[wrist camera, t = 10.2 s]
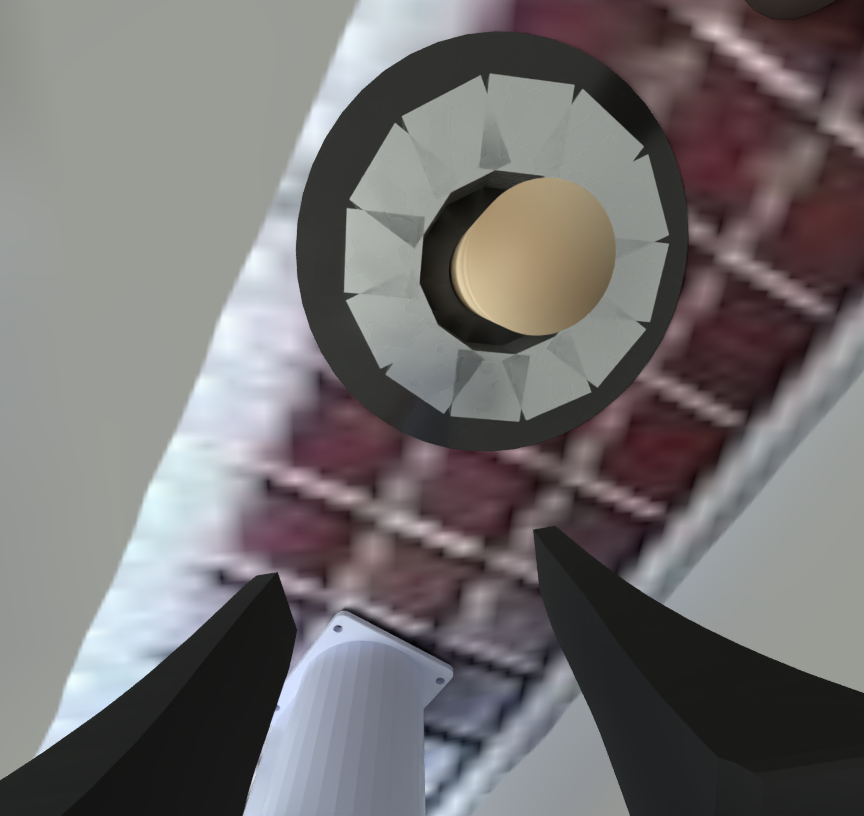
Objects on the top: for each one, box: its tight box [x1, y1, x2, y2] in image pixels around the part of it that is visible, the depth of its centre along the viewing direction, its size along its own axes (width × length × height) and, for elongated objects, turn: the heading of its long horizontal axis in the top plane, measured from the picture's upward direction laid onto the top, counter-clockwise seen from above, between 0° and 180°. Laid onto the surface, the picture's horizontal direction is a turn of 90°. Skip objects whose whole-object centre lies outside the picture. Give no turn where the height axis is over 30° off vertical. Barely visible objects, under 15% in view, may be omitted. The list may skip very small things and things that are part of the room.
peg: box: [449, 178, 616, 335], centre depth 14 cm, size 4×4×7 cm
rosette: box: [296, 31, 688, 451], centre depth 17 cm, size 17×17×3 cm
